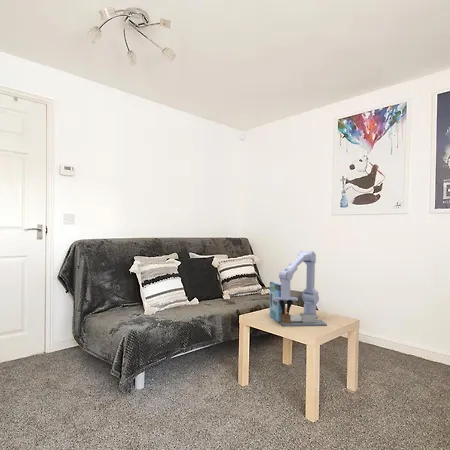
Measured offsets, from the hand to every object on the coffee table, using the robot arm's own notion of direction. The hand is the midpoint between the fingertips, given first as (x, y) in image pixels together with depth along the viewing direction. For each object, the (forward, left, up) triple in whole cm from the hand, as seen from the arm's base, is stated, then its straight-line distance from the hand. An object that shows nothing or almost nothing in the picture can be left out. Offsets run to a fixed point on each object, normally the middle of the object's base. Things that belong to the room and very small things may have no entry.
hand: (285, 312), depth 202 cm
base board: (0, +10, -7) cm, 12 cm away
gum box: (-12, -3, -7) cm, 14 cm away
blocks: (0, +6, -5) cm, 8 cm away
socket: (0, 0, -7) cm, 7 cm away
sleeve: (0, +14, -6) cm, 15 cm away
